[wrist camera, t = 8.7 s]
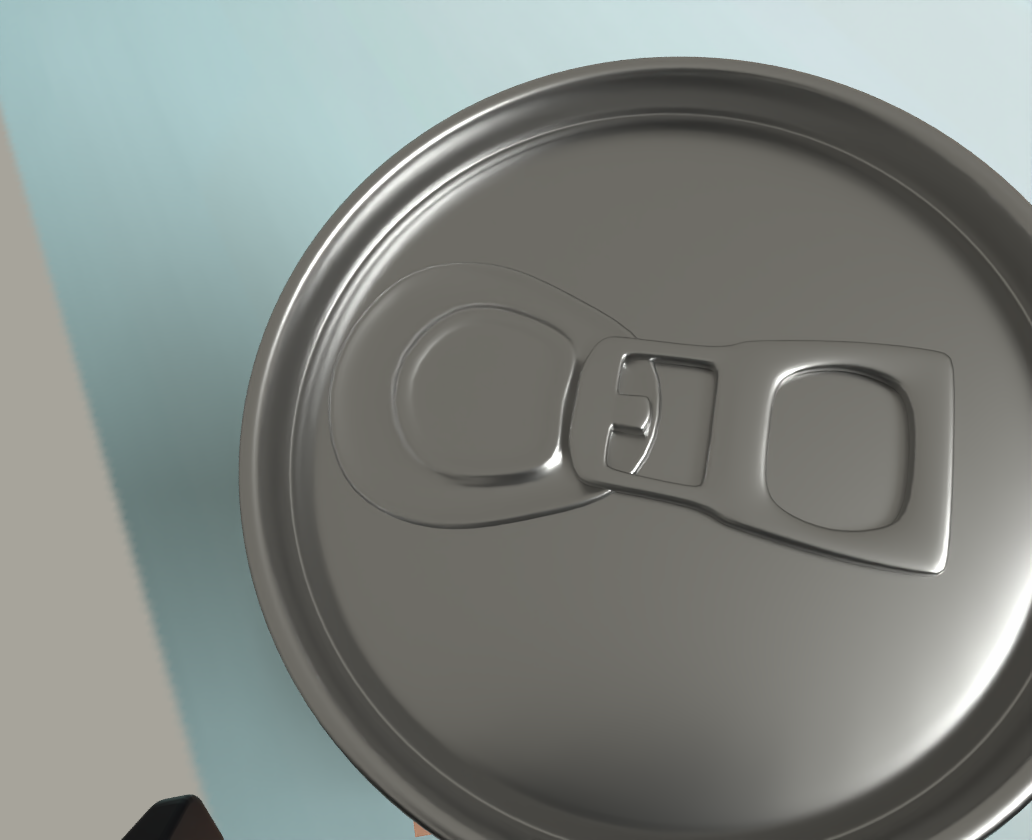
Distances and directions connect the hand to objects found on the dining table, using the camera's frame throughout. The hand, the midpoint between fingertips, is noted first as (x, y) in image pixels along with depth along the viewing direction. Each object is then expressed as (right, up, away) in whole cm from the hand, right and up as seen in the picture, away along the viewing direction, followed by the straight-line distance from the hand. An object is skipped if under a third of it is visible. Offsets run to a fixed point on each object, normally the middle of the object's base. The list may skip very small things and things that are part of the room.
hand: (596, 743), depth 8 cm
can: (+1, 0, +8) cm, 8 cm away
